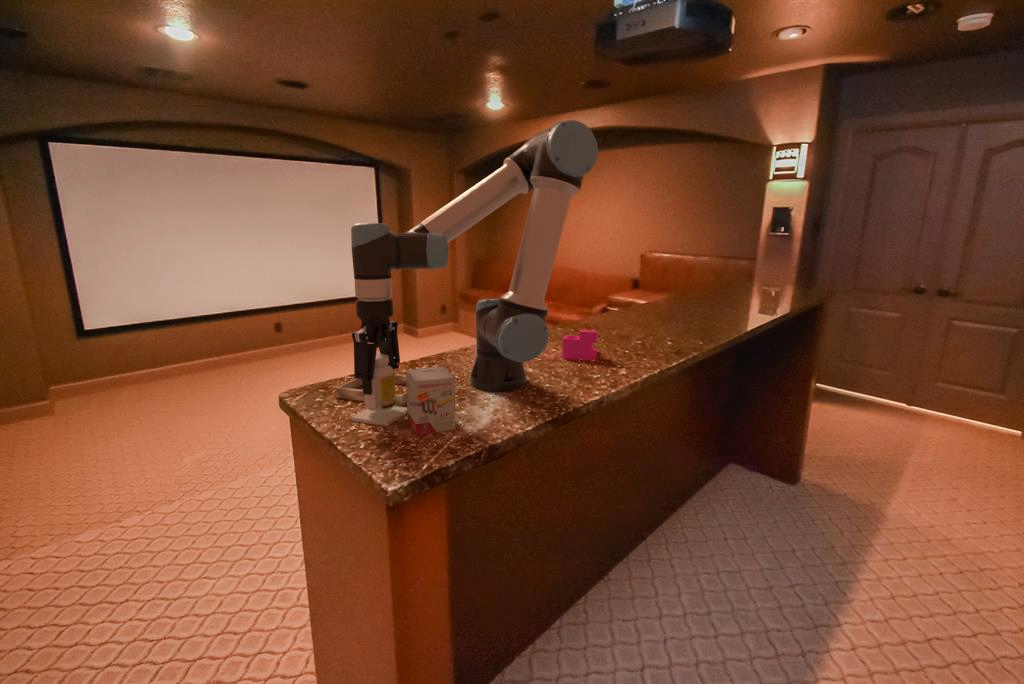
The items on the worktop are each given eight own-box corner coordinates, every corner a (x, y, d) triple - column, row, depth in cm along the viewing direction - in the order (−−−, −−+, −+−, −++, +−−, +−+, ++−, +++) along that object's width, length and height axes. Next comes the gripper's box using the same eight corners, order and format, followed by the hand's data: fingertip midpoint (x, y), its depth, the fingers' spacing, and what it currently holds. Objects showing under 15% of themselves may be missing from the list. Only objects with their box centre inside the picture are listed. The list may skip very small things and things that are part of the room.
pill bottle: (400, 403, 108) (398, 353, 105) (387, 413, 102) (384, 361, 99) (374, 400, 109) (371, 351, 107) (360, 411, 103) (356, 359, 100)
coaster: (409, 411, 109) (409, 407, 109) (387, 426, 100) (387, 422, 100) (375, 406, 112) (375, 403, 111) (351, 420, 103) (351, 417, 103)
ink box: (415, 436, 96) (413, 380, 93) (407, 421, 103) (404, 368, 101) (456, 429, 99) (455, 375, 96) (445, 415, 107) (444, 364, 104)
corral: (431, 387, 125) (430, 378, 125) (402, 406, 112) (401, 396, 111) (370, 380, 131) (369, 371, 130) (335, 397, 117) (335, 387, 117)
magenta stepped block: (595, 364, 148) (596, 332, 146) (562, 362, 150) (563, 330, 148) (597, 355, 159) (599, 325, 157) (567, 353, 162) (568, 323, 159)
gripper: (384, 292, 110) (389, 386, 115) (328, 304, 92) (338, 415, 97) (413, 293, 108) (417, 390, 113) (361, 306, 90) (369, 420, 95)
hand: (380, 401), depth 105 cm, fingers closed on pill bottle, 6 cm apart
